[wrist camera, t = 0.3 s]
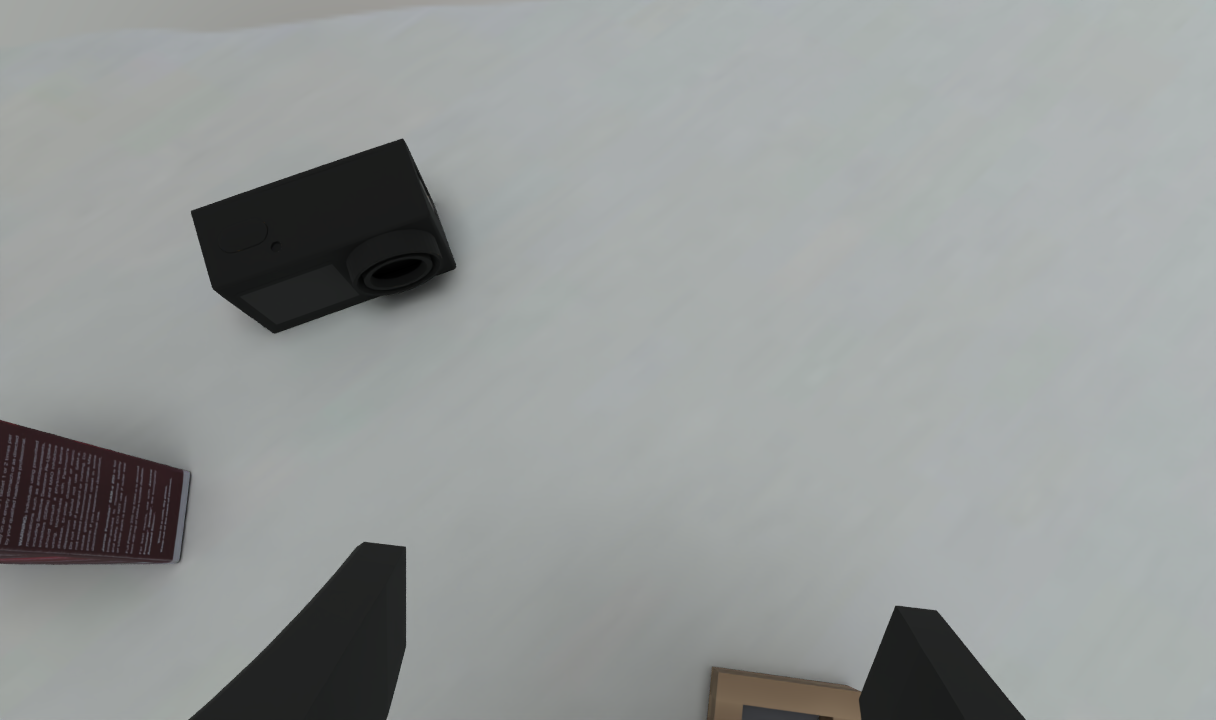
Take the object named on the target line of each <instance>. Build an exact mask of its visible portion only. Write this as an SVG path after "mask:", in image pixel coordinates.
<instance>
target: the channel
mask: <svg viewBox="0 0 1216 720" xmlns="http://www.w3.org/2000/svg"><path fill="white" fill-rule="evenodd" d="M860 695H861V691H858V690H856V689H854V688H852V687H849V686H847V685H840V684H833V683H826V682H819V681H812V680H804V679H797V678H790V677H783V676H776V675H769V674H761V673H754V672H747V671H740V670H733V669H725V668H718V667H712V673H711V683H710V694H709V704H708V715H707V720H742V710H743V705H750V706H757V707H764V708H771V709H778V710H785V711H792V712H799V713H807V714H814V715H819V720H861V713H860V706H859V697H860Z"/></svg>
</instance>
